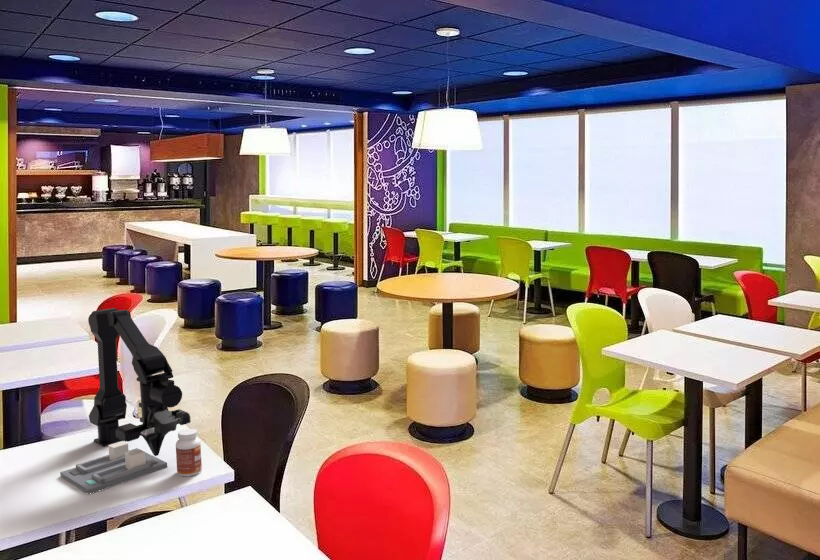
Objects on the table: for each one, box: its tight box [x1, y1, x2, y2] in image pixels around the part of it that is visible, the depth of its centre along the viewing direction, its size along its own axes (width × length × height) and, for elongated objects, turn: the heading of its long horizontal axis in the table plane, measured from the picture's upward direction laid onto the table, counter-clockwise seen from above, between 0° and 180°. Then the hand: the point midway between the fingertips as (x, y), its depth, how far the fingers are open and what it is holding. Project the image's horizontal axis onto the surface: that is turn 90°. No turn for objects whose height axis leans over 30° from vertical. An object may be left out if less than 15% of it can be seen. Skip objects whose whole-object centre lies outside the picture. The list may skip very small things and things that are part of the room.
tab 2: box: [125, 448, 146, 469], centre depth 181 cm, size 3×4×4 cm
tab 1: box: [107, 441, 130, 460], centre depth 187 cm, size 3×4×4 cm
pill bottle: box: [175, 428, 203, 477], centre depth 180 cm, size 6×6×11 cm
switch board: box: [59, 447, 168, 495], centre depth 182 cm, size 16×21×2 cm
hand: (156, 455), depth 185 cm, fingers closed
